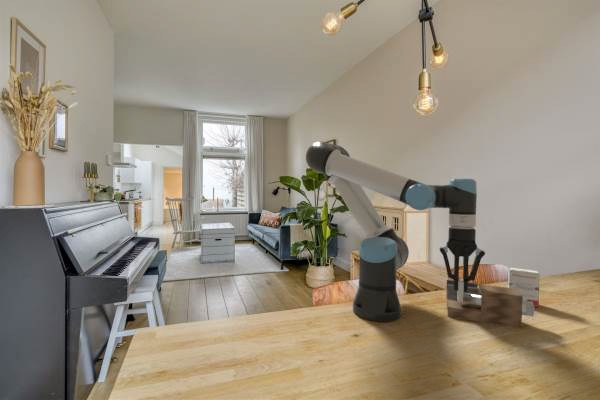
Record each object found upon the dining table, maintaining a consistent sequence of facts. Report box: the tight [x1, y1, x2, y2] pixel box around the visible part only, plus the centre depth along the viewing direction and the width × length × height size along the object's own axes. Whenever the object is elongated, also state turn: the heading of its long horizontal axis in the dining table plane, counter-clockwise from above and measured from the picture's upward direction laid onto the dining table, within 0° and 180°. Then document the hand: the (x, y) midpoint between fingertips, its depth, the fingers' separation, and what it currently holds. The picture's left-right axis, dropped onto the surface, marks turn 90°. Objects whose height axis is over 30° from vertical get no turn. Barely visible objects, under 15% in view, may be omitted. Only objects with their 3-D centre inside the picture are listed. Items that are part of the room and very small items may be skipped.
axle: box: [462, 293, 536, 317], centre depth 90 cm, size 18×4×4 cm, turn 66°
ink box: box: [507, 267, 541, 308], centre depth 104 cm, size 9×5×12 cm, turn 58°
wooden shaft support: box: [446, 283, 523, 329], centre depth 92 cm, size 19×7×10 cm, turn 66°
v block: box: [445, 279, 479, 301], centre depth 106 cm, size 10×7×6 cm
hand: (460, 300), depth 94 cm, fingers closed
